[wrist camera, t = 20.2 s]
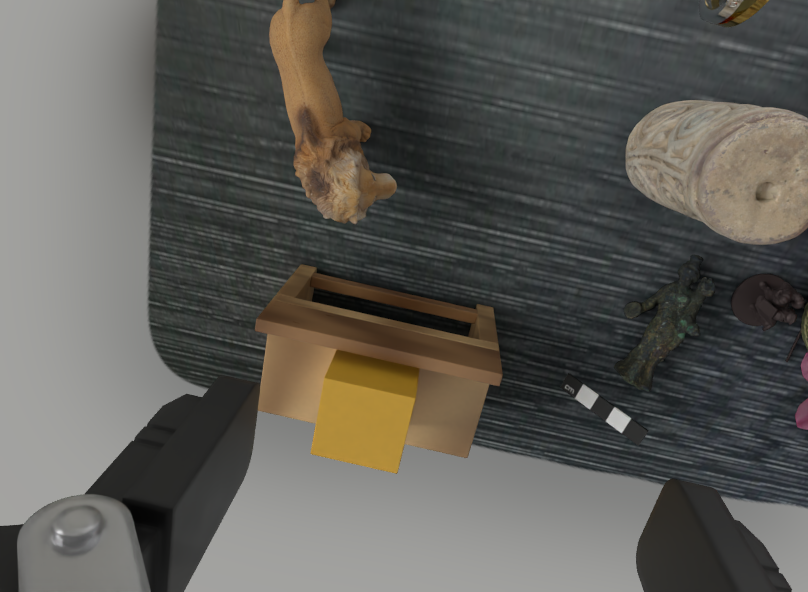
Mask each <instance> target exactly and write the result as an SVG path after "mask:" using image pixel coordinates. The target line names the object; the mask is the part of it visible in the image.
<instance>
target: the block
mask: <svg viewBox="0 0 808 592" xmlns="http://www.w3.org/2000/svg"><path fill="white" fill-rule="evenodd" d="M419 371H420V368H416V367H412V366H407V365H403V364H398V363H394V362H390V361H385V360H381V359H376V358H372V357H368V356H363V355H359V354H354V353H350V352H346V351H341V350H336V352H335V354H334V357H333V359H332V361H331V363H330V366H329V368H328V370H327V372H326V375H325V377H324V381H323V387H322V392H321V398H320V403H319V409H318V415H317V420H316V426H315V431H314V437H313V443H312V448H311V454H313V455H317V456H321V457H326V458H330V459H335V460H339V461H343V462H348V463H352V464H356V465H361V466H366V467H370V468H374V469H378V470H383V471H387V472H392V473H396V474H397V473H398V469H399V465H400V461H401V456H402V452H403V448H404V444H405V440H406V436H407V432H408V428H409V424H410V420H411V416H412V412H413V408H414V404H415V400H416V394H417V386H418V378H419Z"/></svg>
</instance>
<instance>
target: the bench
mask: <svg viewBox="0 0 808 592" xmlns="http://www.w3.org/2000/svg"><path fill="white" fill-rule="evenodd" d="M316 272H317V268H316V267H312V266H307V265H303V264H301V265H300V266H299V267H298V269H297V270H296V271H295V272H294V274H293V275H292V276H291V277H290V278H289V280H288V281H287V282H286V283H285V285H284V286H283V287H282V288H281V289H280V291H279V292H278V293H277V294H276V296H275V297H274V298H273V299H272V300H271V302H270V303H269V304H268V305H267V307H266V308H265V309H264V310H263V311H262V313H261V314H260V315H259V316H258V318H257V319H256V326H255V331H258V332H262V333H266V334H268V335H267V342H266V350H265V357H264V365H263V372H262V379H261V387H260V397H259V404H258V411H262V412H267V413H271V414H276V415H280V416H285V417H288V418H293V419H298V420H302V421H306V422H310V423H315V424H316V420H317V415H318V409H319V403H320V398H321V392H322V387H323V381H324V377H325V375H326V372H327V370H328V368H329V366H330V363H331V361H332V359H333V357H334V354H335V352H336V350H341V351H346V352H350V353H354V354H359V355H363V356H368V357H372V358H376V359H381V360H385V361H390V362H394V363H398V364H403V365H407V366H412V367H416V368H420V371H419V378H418V386H417V394H416V400H415V404H414V408H413V412H412V416H411V420H410V424H409V428H408V432H407V436H406V440H405V444H407V445H411V446H415V447H420V448H425V449H429V450H433V451H438V452H442V453H446V454H451V455H455V456H459V457H464V458H467V457H468V455H469V451H470V448H471V444H472V441H473V438H474V434H475V431H476V428H477V424H478V421H479V418H480V414H481V411H482V408H483V404H484V401H485V398H486V394H487V391H488V388H489V384H491V385H495V386H500V383H501V380H502V376H503V373H502V366H501V359H500V352H499V345H498V338H497V331H496V324H495V317H494V310H493V307H488V306H484V305H479V304H477V306H476V309H472V308H468V307H463V306H459V305H454V304H450V303H446V302H441V301H437V300H432V299H428V298H424V297H419V296H415V295H410V294H406V293H401V292H397V291H393V290H388V289H384V288H379V287H375V286H371V285H366V284H362V283H357V282H353V281H348V280H344V279H340V278H335V277H331V276H326V275H322V274H318V273H316ZM314 288H318V289H322V290H327V291H331V292H336V293H340V294H345V295H349V296H353V297H358V298H362V299H367V300H371V301H375V302H380V303H384V304H389V305H393V306H397V307H402V308H406V309H411V310H415V311H420V312H424V313H428V314H433V315H437V316H442V317H446V318H450V319H455V320H459V321H464V322H468V323H472V324H471V328H470V331H469V335H468V337H465V336H461V335H456V334H452V333H448V332H443V331H439V330H434V329H430V328H426V327H421V326H417V325H412V324H408V323H404V322H399V321H395V320H390V319H386V318H382V317H377V316H373V315H368V314H364V313H359V312H355V311H351V310H346V309H342V308H337V307H333V306H329V305H324V304H320V303H315V302H312V297H313V291H314Z"/></svg>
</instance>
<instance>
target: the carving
mask: <svg viewBox="0 0 808 592" xmlns="http://www.w3.org/2000/svg"><path fill="white" fill-rule="evenodd" d="M626 171H627V174H628V177H629V179H630V181H631V183H632V184H633V185H634V186H635V187H636V188H637V189H638V190H639V191H640V192H642V193H643V194H644V195H645V196H647V197H648V198H650V199H651V200H654V201H655V202H657V203H659V204H661V205H663V206H665V207H667V208H669V209H672V210H674V211H677V212H680V213H682V214H684V215H687V216H689V217H691V218H694V219H696V220H699V221H701V222H704V223H705V224H706V225H707V226H709V227H710V228H711V229H712V230H714V231H715V232H717V233H719V234H721V235H723V236H725V237H728V238H729V239H732V240H734V241H737V242H741V243H746V244H757V245H767V244H775V243H779V242H783V241H787V240H790V239H792V238H795V237H797V236H798V235H800V234H801V233H802V232H803V231H805V230H806V229H807V228H808V118H806V117H805V116H803V115H799V114H797V113H795V112H792V111H789V110H785V109H779V108H773V107H760V106H756V105H750V104H736V103H728V102H712V101H701V100H687V101H679V102H673V103H668V104H665V105H662V106H660V107H658V108H656V109H654V110H653V111H651V112H650V113H649V114H647V115H646V116H645V117H644V118H643V119H642V120H641V121H640V122H639V123H638V124H637V125H636V126H635V128H634V129H633V131H632V132H631V134H630V136H629V138H628V142H627V146H626Z"/></svg>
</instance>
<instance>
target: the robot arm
mask: <svg viewBox="0 0 808 592" xmlns="http://www.w3.org/2000/svg"><path fill="white" fill-rule="evenodd" d="M259 397H260V385H259V383H255V382H251V381H247V380H242V379H238V378H233V377H229V376H225V375H220V376H219V377H218V378H217V379H216V380H215V382H214V383H213V384H212V386H211V387H210V388H209V389H208V391H207V392H206V393H205V394H204V396H203V397H198V396H194V395H189V394H185V395H183V396H181V397H180V398H178V399H175V400H174V401H172V402H170V403H168V404H166V405H164V406H162V408H161V409H160V410H159V411H158V412H157V413H156V414H155V415H154V417H153V418H152V419H151V420H150V421H149V423H148V424H147V427H144V428H143V429H142V430H141V431H140V432H139V433H138V434H137V436H136V437H135V440H134V441H132V442H130V444H129V445H128V446H127V447H126V448H125V449H124V450H123V451H122V453H121V454H120V455H119V456H118V457H117V458H116V459H115V460H114V461H113V463H112V464H111V465H110V466H109V467H108V468H107V469H106V471H105V472H104V473H103V474H102V475H101V476H100V477H99V478H98V479H97V481H96V482H95V483H94V484H93V485H92V486H91V487H90V488H89V490H88V491H87V492H86V493H85V494H84V495H77V496H71V497H67V498H63V499H60V500H57V501H55V502H52V503H50V504H48V505H46V506H44V507H43V508H41V509H40V510H38V511H37V512H35V513H34V514H33V515H32V516H31V517H30V518H29V519H28V520H27V521H26V522H25V523H24V524H21V525H10V526H0V592H184V590H185V589H186V586H187V585H188V583H189V581H190V579H191V577H192V575H193V573H194V572H195V570H196V568H197V566H198V564H199V562H200V560H201V559H202V557H203V555H204V553H205V551H206V549H207V547H208V545H209V544H210V542H211V540H212V538H213V536H214V534H215V532H216V531H217V529H218V527H219V525H220V523H221V521H222V519H223V517H224V515H225V514H226V512H227V510H228V508H229V506H230V504H231V502H232V501H233V499H234V497H235V495H236V493H237V491H238V489H239V487H240V486H241V484H242V482H243V480H244V477H245V475H246V472H247V469H248V466H249V463H250V459H251V455H252V449H253V443H254V435H255V427H256V420H257V412H258V404H259ZM636 564H637V572H638V575H639V578H640V581H641V584H642V587H643V590H644V592H791V590H792V589H791V587H790V586H789V584H788V582H787V581H786V579H785V578H784V576H783V575H782V574H781V573H779V568H778V567H777V565H776V563H775V562H774V560H773V559H772V557H771V556H770V554H769V552H768V551H767V549H766V547H765V546H764V545H763V543H762V542H760V540H758V539H757V538H756V537H755V536H754V535H753V534H752V533H751V532H750V531H749V530H748V529H747V528H746V527H745V526H744V525H743V524H742V523H741V522H740V521H737V520H734V518H733V517H732V515H731V513H730V512H729V510H728V508H727V507H726V505H725V503H724V502H723V500H722V498H721V497H720V495H719V493H718V492H717V491H716V490H715V489H714V488H712V487H708V486H703V485H699V484H695V483H690V482H686V481H681V480H677V479H670V480H668V481H667V482H666V483H665V485H664V487H663V488H662V491H661V493H660V495H659V497H658V499H657V502H656V504H655V506H654V508H653V511H652V512H651V515H650V517H649V519H648V521H647V523H646V526H645V528H644V530H643V533H642V535H641V537H640V539H639V542H638V546H637V553H636Z"/></svg>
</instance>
